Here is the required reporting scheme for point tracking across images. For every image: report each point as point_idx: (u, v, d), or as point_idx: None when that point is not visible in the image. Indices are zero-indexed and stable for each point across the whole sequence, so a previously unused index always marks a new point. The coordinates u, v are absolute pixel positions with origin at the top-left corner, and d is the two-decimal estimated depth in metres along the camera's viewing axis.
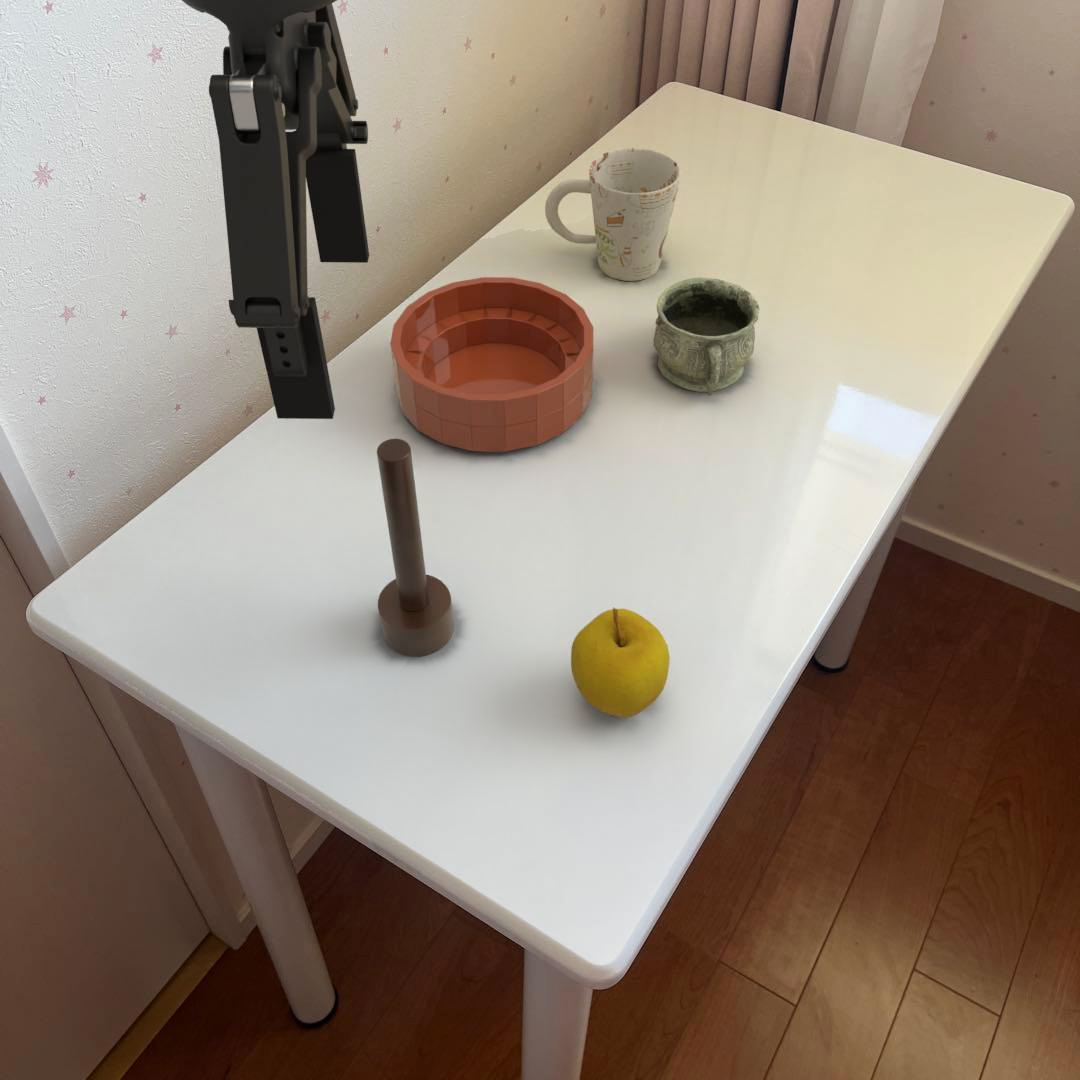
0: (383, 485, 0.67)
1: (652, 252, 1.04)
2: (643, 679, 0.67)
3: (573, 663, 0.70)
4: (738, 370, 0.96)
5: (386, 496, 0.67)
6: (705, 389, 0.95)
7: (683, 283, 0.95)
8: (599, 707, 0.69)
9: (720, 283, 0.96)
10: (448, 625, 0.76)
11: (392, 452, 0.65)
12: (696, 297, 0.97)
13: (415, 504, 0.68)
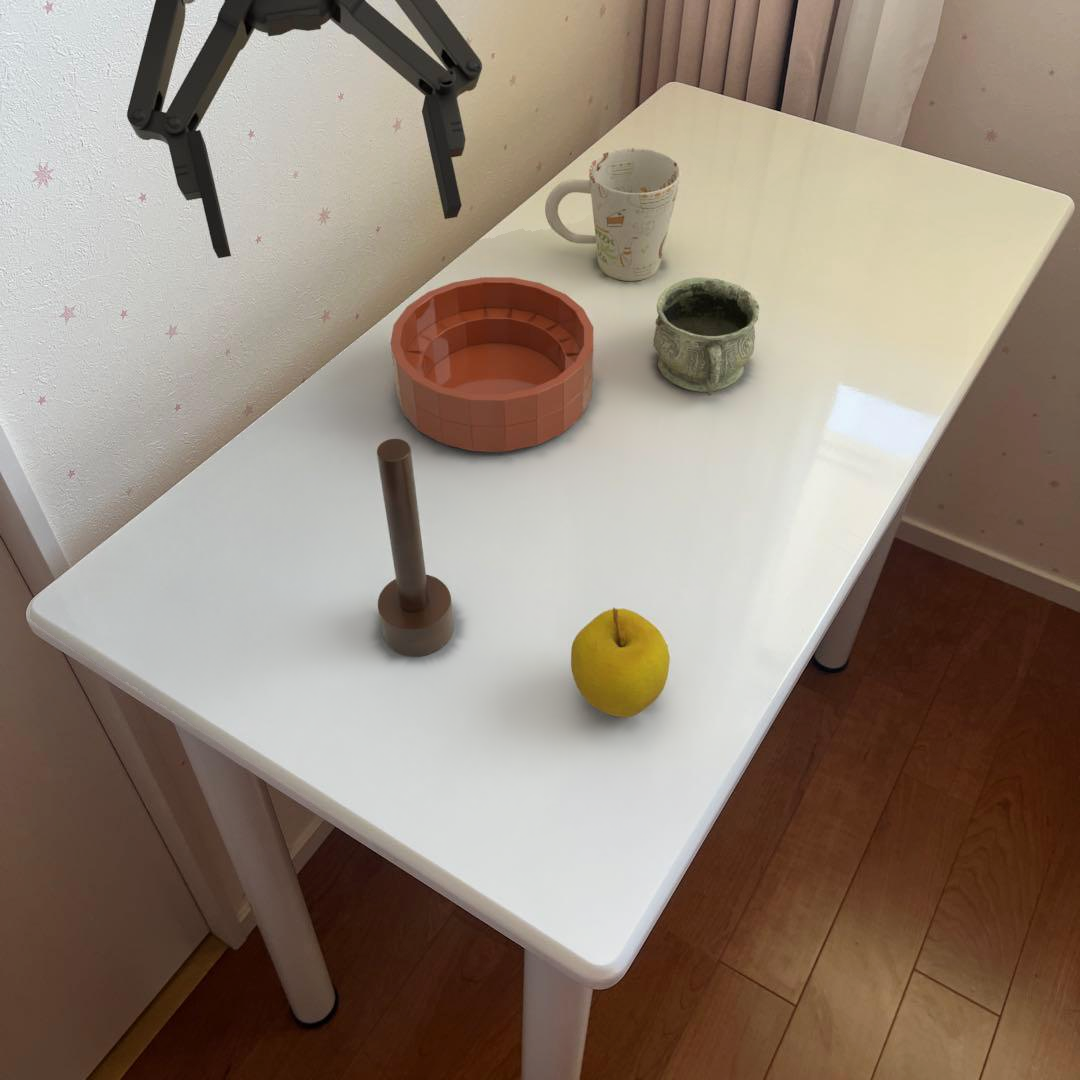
0: (383, 485, 0.67)
1: (652, 252, 1.04)
2: (643, 679, 0.67)
3: (573, 663, 0.70)
4: (738, 370, 0.96)
5: (386, 496, 0.67)
6: (705, 389, 0.95)
7: (683, 283, 0.95)
8: (599, 707, 0.69)
9: (720, 283, 0.96)
10: (448, 625, 0.76)
11: (392, 452, 0.65)
12: (696, 297, 0.97)
13: (415, 504, 0.68)
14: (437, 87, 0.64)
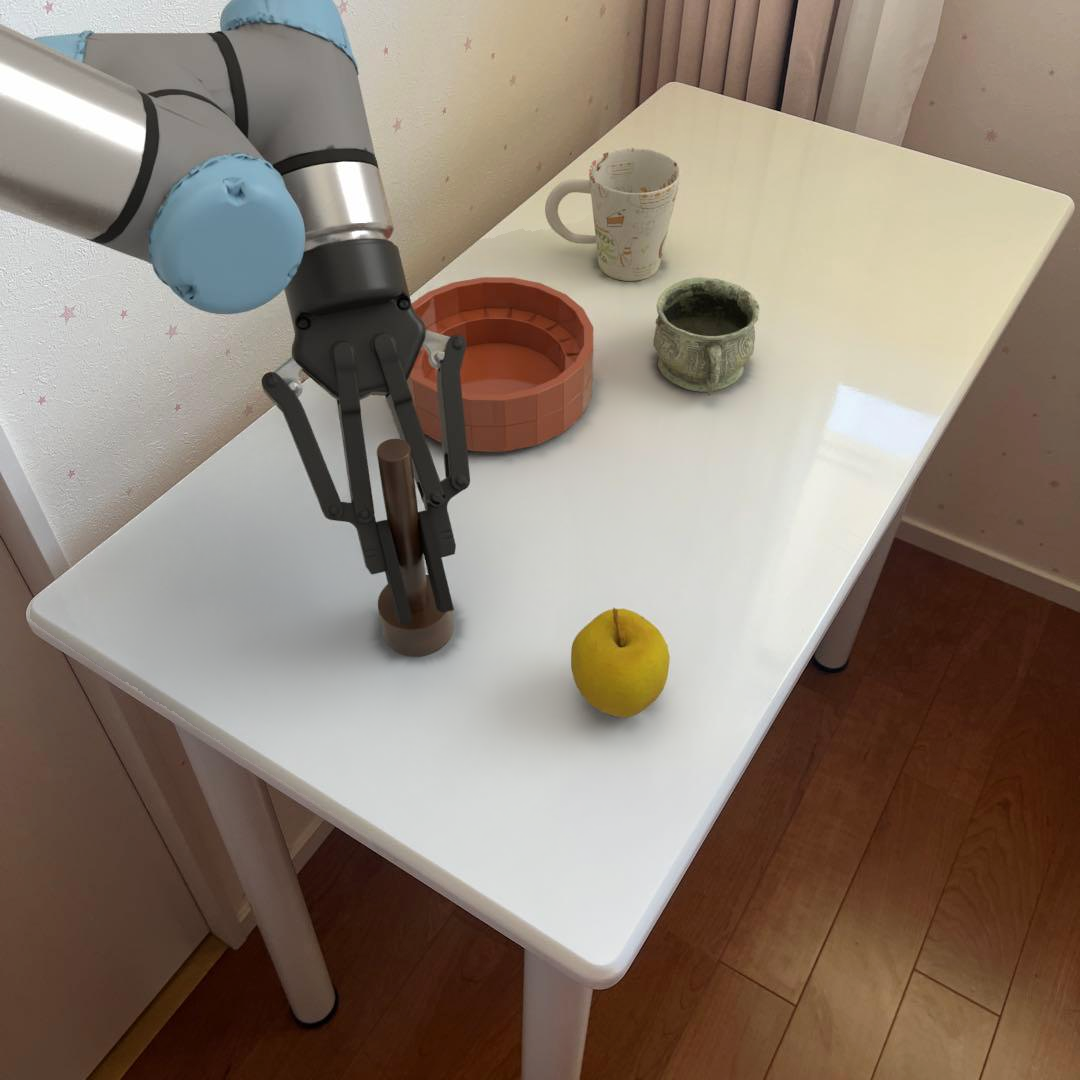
0: (383, 485, 0.67)
1: (652, 252, 1.04)
2: (643, 679, 0.67)
3: (573, 663, 0.70)
4: (738, 370, 0.96)
5: (386, 496, 0.67)
6: (705, 389, 0.95)
7: (683, 283, 0.95)
8: (599, 707, 0.69)
9: (720, 283, 0.96)
10: (448, 625, 0.76)
11: (392, 452, 0.65)
12: (696, 297, 0.97)
13: (415, 504, 0.68)
14: (427, 498, 0.69)
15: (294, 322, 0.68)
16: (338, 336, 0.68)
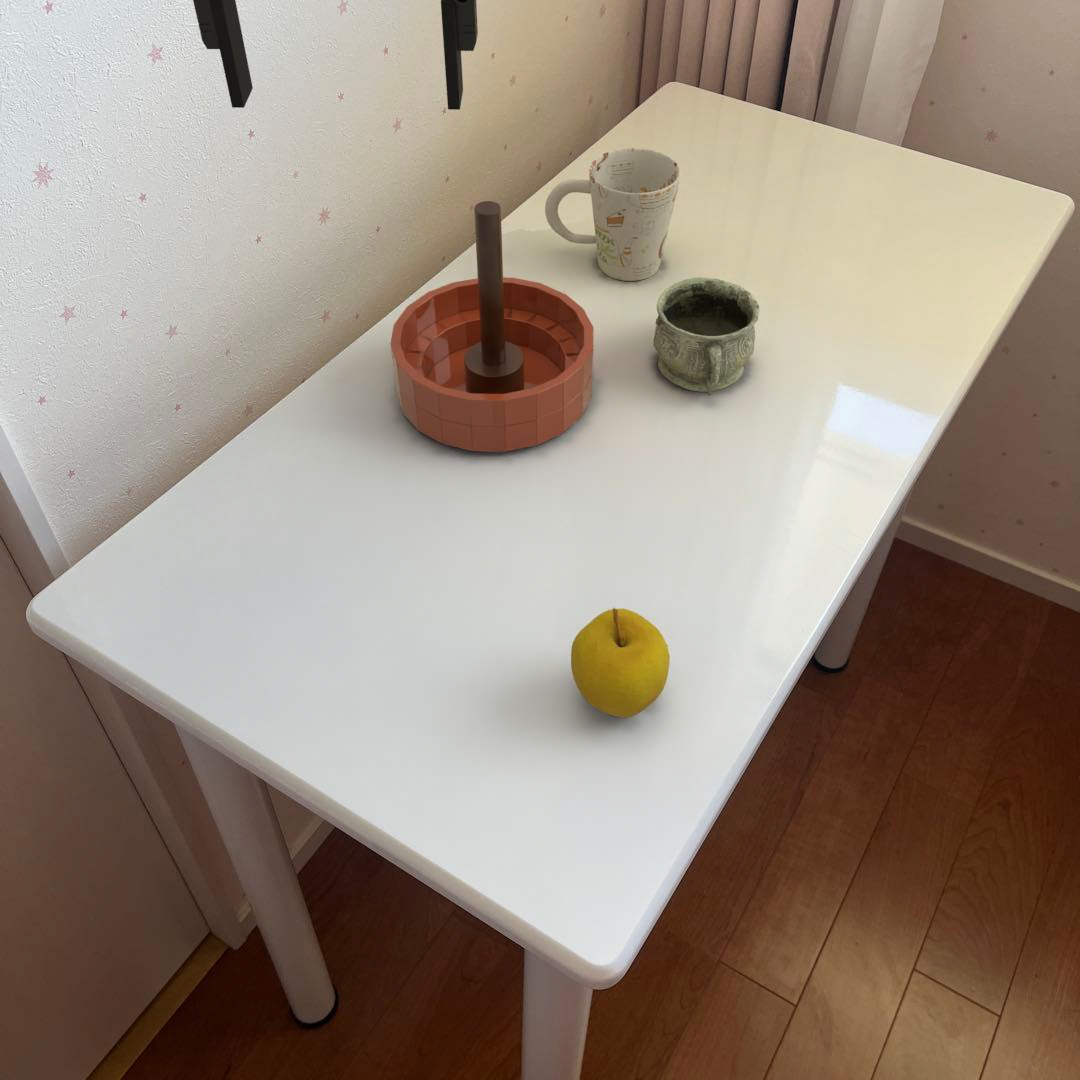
0: (477, 240, 0.84)
1: (652, 252, 1.04)
2: (643, 679, 0.67)
3: (573, 663, 0.70)
4: (738, 370, 0.96)
5: (479, 250, 0.84)
6: (705, 389, 0.95)
7: (683, 283, 0.95)
8: (599, 707, 0.69)
9: (720, 283, 0.96)
10: (521, 378, 0.93)
11: (486, 209, 0.82)
12: (696, 297, 0.97)
13: (501, 259, 0.85)
14: None
15: None
16: None
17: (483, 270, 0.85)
